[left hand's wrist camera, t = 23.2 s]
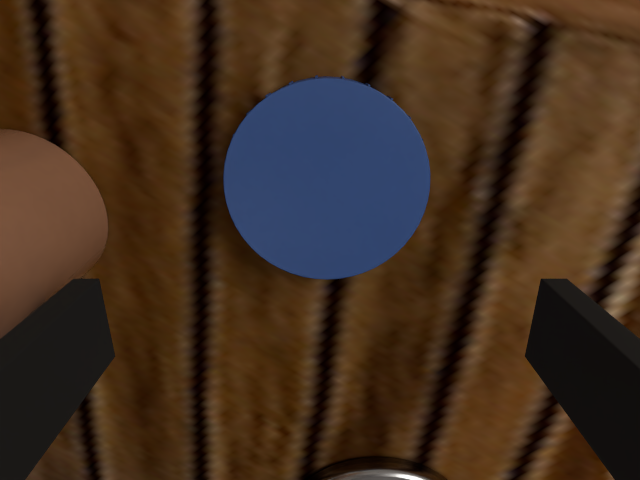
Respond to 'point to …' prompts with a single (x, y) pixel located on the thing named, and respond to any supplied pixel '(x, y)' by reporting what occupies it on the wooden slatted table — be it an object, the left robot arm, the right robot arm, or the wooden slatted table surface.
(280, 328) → the wooden slatted table surface
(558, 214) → the wooden slatted table surface
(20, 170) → the jar
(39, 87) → the wooden slatted table surface
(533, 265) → the wooden slatted table surface
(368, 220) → the lid
